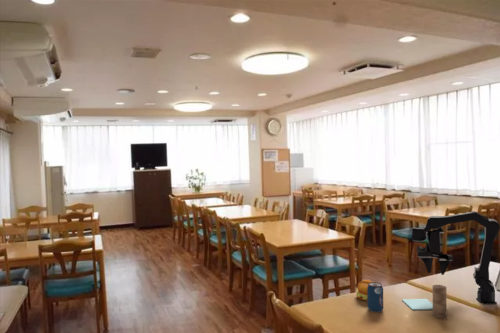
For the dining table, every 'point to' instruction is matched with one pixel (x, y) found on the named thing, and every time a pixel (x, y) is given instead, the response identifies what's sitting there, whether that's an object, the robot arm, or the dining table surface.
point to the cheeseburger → (362, 290)
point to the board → (418, 304)
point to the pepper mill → (439, 301)
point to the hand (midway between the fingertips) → (435, 273)
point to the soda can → (375, 296)
